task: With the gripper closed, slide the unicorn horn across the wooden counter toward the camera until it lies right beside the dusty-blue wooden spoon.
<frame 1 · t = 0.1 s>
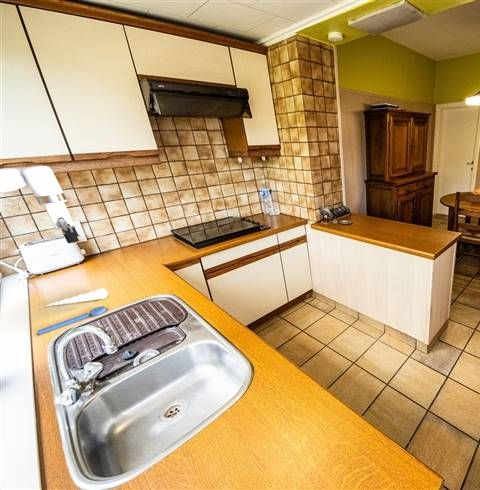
hand: (73, 239, 110), 31 cm above the worktop, tool pointing down, fingers open, 9 cm apart
unicorn horn: (78, 302, 122), on the worktop
blue spoon: (79, 319, 110), on the worktop
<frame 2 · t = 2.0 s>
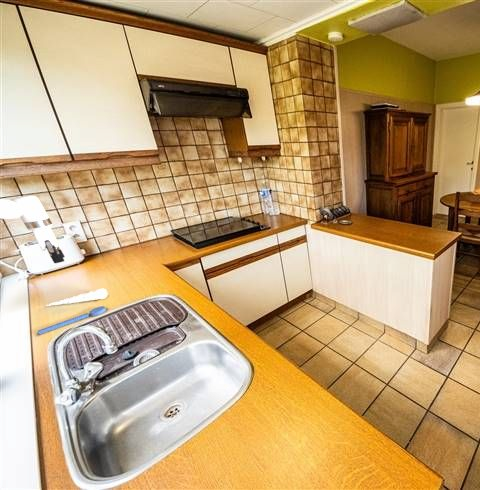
hand: (59, 259, 124), 18 cm above the worktop, tool pointing down, fingers open, 6 cm apart
nothing on the worktop moved.
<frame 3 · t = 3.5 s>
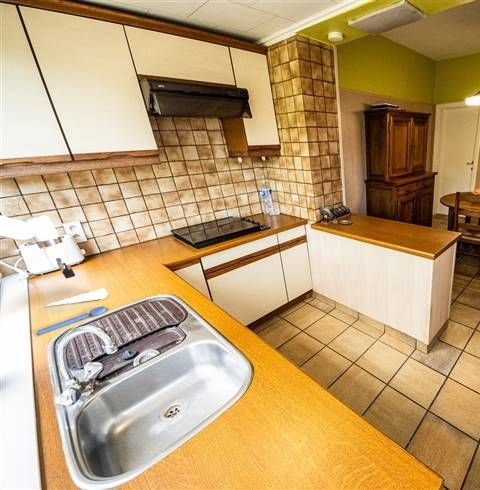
hand: (70, 276, 128), 8 cm above the worktop, tool pointing down, fingers closed
nothing on the worktop moved.
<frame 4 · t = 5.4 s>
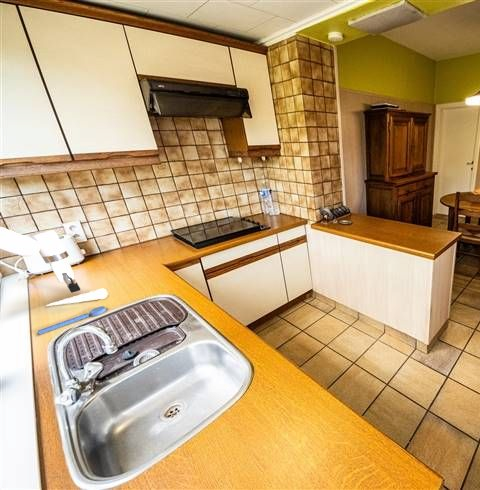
hand: (76, 290, 128), 2 cm above the worktop, tool pointing down, fingers closed
nothing on the worktop moved.
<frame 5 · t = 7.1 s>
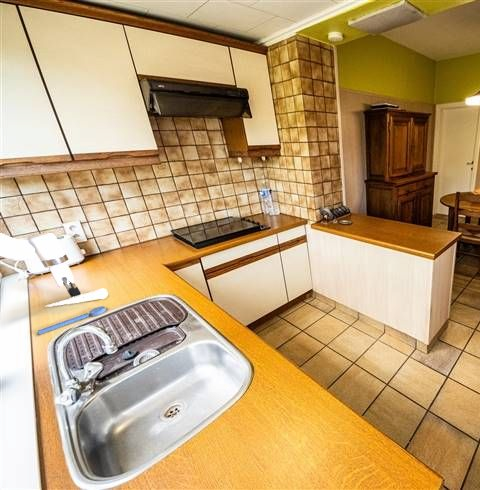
hand: (76, 295, 123), 2 cm above the worktop, tool pointing down, fingers closed
unicorn horn: (78, 302, 122), on the worktop, touching gripper
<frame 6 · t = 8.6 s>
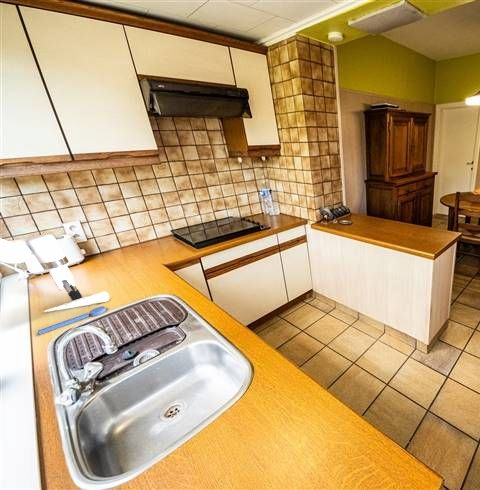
hand: (77, 298, 120), 3 cm above the worktop, tool pointing down, fingers closed
unicorn horn: (79, 306, 119), on the worktop, touching gripper
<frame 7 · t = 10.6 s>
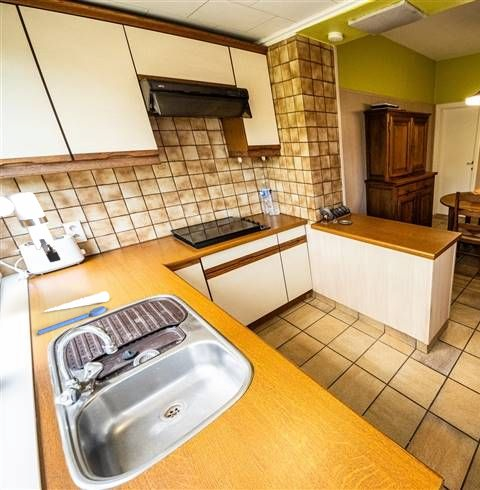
hand: (55, 260, 119), 19 cm above the worktop, tool pointing down, fingers closed
unicorn horn: (79, 306, 119), on the worktop
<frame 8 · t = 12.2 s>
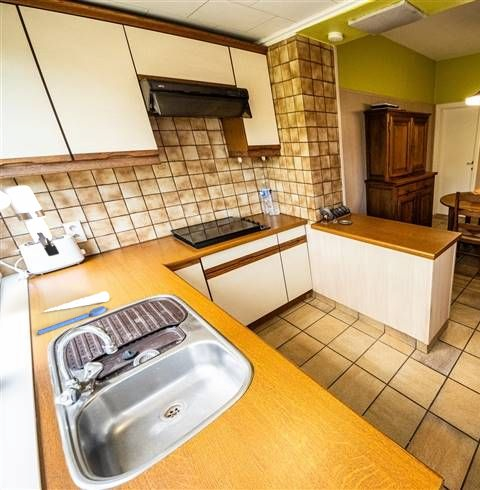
hand: (54, 254, 119), 22 cm above the worktop, tool pointing down, fingers closed
nothing on the worktop moved.
at the end: unicorn horn inside the target area (2.0 cm from its centre), on the worktop; unicorn horn 13.7 cm from the blue spoon (horizontally); unicorn horn moved 5.3 cm from its start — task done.
